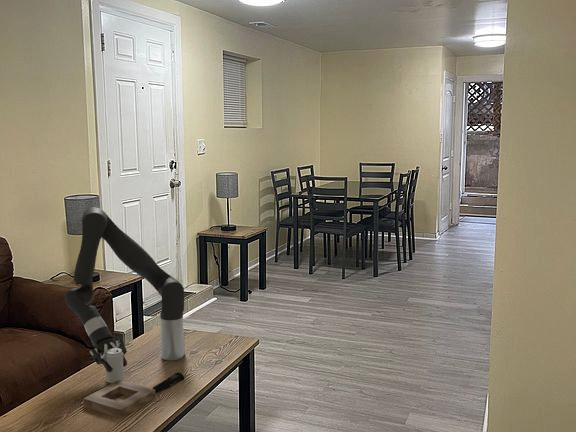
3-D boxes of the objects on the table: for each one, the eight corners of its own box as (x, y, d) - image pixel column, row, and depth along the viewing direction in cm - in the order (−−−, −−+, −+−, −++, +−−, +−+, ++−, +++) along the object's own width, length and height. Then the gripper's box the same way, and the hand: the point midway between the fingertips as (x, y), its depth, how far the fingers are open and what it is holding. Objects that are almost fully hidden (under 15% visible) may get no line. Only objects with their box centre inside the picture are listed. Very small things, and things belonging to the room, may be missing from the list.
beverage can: (118, 385, 214) (117, 354, 212) (103, 383, 215) (101, 353, 213) (126, 378, 220) (125, 348, 218) (111, 376, 221) (110, 346, 219)
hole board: (119, 387, 212) (119, 379, 211) (155, 397, 204) (155, 389, 204) (83, 406, 197) (83, 398, 196) (121, 418, 189) (120, 409, 189)
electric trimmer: (149, 393, 208) (149, 385, 208) (177, 377, 222) (177, 369, 221) (157, 396, 206) (157, 387, 206) (185, 379, 220) (185, 371, 219)
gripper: (85, 331, 213) (106, 369, 208) (117, 321, 225) (138, 357, 219) (77, 341, 217) (97, 379, 212) (109, 331, 229) (129, 367, 223)
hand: (118, 368), depth 216 cm, fingers closed on beverage can, 5 cm apart
